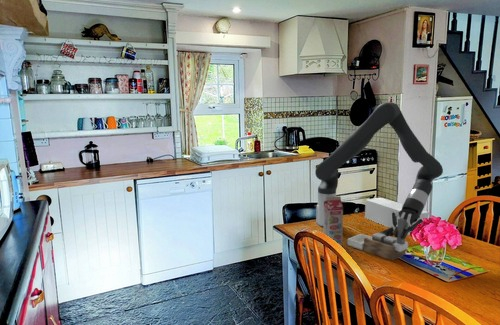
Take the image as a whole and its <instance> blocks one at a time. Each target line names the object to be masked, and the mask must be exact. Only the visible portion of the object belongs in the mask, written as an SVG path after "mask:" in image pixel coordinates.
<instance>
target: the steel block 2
mask: <svg viewBox="0 0 500 325" xmlns="http://www.w3.org/2000/svg"><path fill="white" fill-rule="evenodd" d="M396 242H397V238H396V237H394V236H391V235H390V236H388V237H386V238H384V244H387V245H391V246H393V244H394V243H396Z"/></svg>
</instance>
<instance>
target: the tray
mask: <svg viewBox="0 0 500 325" xmlns="http://www.w3.org/2000/svg"><path fill="white" fill-rule="evenodd" d="M364 238H368V239H371V240H372V236H369V235H367V234H363V233H359V234H355V235H354V236H351V237H348V238H347V240H346V241H347V242H346V245H347V246H348V247H351V248H355V249H358V250H360V251H364Z"/></svg>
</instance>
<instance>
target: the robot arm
mask: <svg viewBox="0 0 500 325" xmlns="http://www.w3.org/2000/svg"><path fill="white" fill-rule="evenodd" d="M387 125H389V126H390V127H391V128H392V129H393V131H395V133H396V135H397V137H398V139H399V141H400V144H401V147H402V149H403V150H404V151H405V152H406V154H407V155H408V157H409V158H410V160H411V161H412V162H413V163H415V164H416V163H420V164H421V167H420V168H419V170H418V171H417V174H416V175H415V176H416V177H415V182H414V184H413V187H412V189H411V190H410V191H409V192H408V195H407V196H406V198H405V200H404V202H403V203H402V204H403V206H402V210H401V211H399V213H394V212H393V213H392V222H393V225H394V227H395V230H394V232H393V233H392V234H393V237H394V238H397V232H398V223H397V219H398V217H400V218H402V219H406V226H405V229H404V230H403V231H402V233H401V235H400V238H401V239H405V240H406V238H407V236H408V235H407V234H408V232H412V231H413V230H414V228H415V227H416V226H417V225H418V224H420V223H422V222H423V220H422V219H420V215H421V213H422V211H424V208H425V206H427V201H428V199H429V196H430V194H431V193H432V190H433V184H432V181H433V180H435V179H437V178H439V177H441V176H442V175H443V173H444V172H443V171H444V169H443V166H442V164H441V163H440V162H439V161H438V160H437V159H436V158H435V157H434V156H433V155H431V153H429V152H428V151H427V150H426V149H425V146H423V144H422V143H421V141H420V140H419V139H418V137H417V136H416V135H415V133H414V132H413V131H412V129H411V127H410V126H409V124H408V123H407V120H406V118H405V117H404V115H403V112H402V111H401V108H400V107H399V105H398V104H397V103H395V102H392V101H391V102H389V101H388V102H382V103H380V104H379V105H378V106H376V108H375V109H374V110H373V111H372V113H371V114H370V115H369V116H368V118H367V119H366V120H365V121H363V123H362V124H361V125H359V126H358V127H357V128H356V129H355V130H354V131H353V132H352V133H351V134H349V135H348V136H347V137H346V138H345V139H344V141H342V143H340V145H339V146H338V147H337V148H336V149H335V150H334V151H333V152H332V153H331V154H330V155H329V156H328V157H327V158H325V159H324V160H322V161H321V162H319V164H317V166H316V168H315V176H316V178H317V179H318V180H320V181H321V182H320V184H319V186H317V187H318V188H317V205H316V208H315V210H316V211H315V212H316V213H315V218H316V219H315V223H316V224H317V225H318V226H320V227H323V218H324V202H325V201H326V197H337V188H338V184H339V168H340V167H341V166H342V165H344V164H345V163H347V162H348V161H350V160H352V159H353V158H355V157H356V156H357V155H359V154H360V153H361V152H362V151H363V150H364V149H365V148H367V146H368V145H369V143H370V142H371V140H372V139H373V138H374V136H375V135H376V134H377V133H378V132H379V131H380V130H381V129H382V128H384V127H386V126H387ZM416 221H417V222H416ZM415 222H416V223H415ZM413 223H415V224H413Z"/></svg>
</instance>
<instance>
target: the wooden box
mask: <svg viewBox="0 0 500 325" xmlns="http://www.w3.org/2000/svg"><path fill="white" fill-rule="evenodd" d="M386 237H388V236H386ZM363 251H364V252H366V253H370V254H372V255H376V256H377V257H381V258H384V259H386V260H389V261H395V260H397V259H399V258H401V257H403V256H405V255H406V253H407V249H405V250H403V251H401V252H399V251H396V250H395V247H394V246H391V245H387V244H384V243H381V242H378V241H375V240H371V239H368V238H364V250H363Z"/></svg>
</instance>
